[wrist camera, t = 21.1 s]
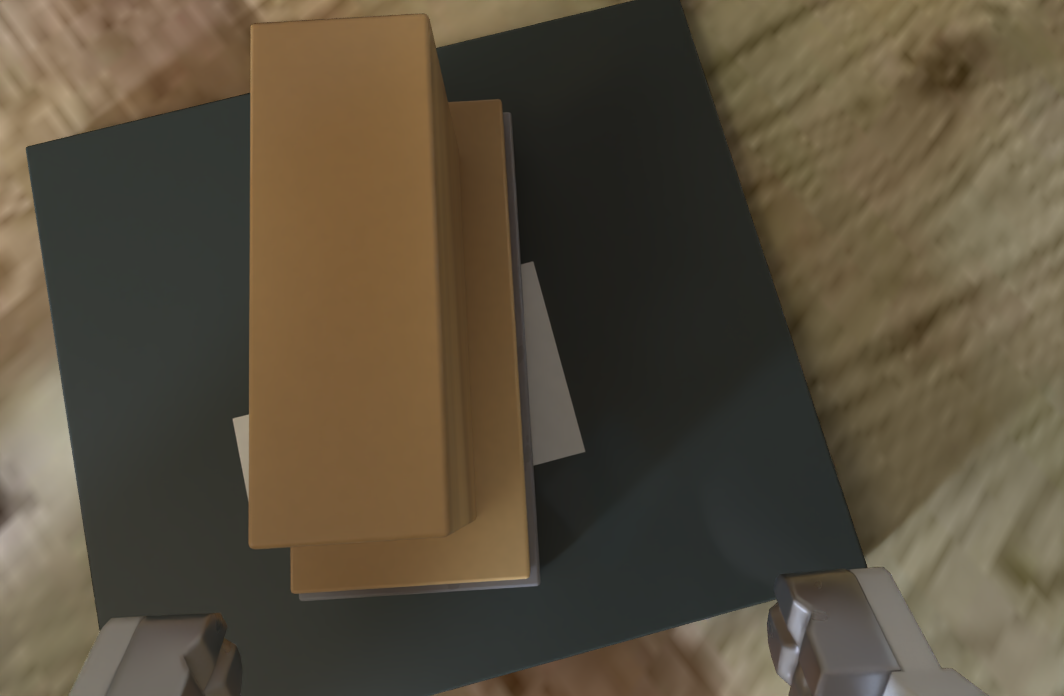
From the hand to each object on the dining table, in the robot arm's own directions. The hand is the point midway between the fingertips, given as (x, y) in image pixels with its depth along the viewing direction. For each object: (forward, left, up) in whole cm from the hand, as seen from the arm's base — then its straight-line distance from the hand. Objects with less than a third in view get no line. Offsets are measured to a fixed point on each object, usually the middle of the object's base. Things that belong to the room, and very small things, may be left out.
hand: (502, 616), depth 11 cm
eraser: (+1, -6, -7) cm, 9 cm away
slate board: (+1, -6, -8) cm, 10 cm away
